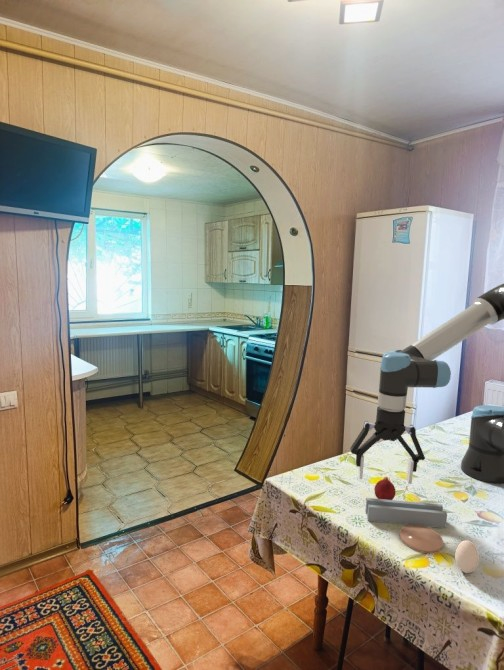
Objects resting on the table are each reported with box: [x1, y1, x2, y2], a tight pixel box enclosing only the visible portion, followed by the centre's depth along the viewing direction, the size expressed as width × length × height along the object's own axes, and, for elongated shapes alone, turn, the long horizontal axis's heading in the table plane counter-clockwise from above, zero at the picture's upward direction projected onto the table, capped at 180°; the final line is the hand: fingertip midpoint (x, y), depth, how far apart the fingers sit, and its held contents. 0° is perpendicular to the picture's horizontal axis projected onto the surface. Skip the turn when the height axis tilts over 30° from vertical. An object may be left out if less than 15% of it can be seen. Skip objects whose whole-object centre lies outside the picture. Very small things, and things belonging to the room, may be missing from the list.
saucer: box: [399, 524, 444, 554], centre depth 108 cm, size 10×10×1 cm
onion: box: [374, 476, 397, 500], centre depth 124 cm, size 6×6×8 cm
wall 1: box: [365, 497, 444, 515], centre depth 118 cm, size 20×1×4 cm, turn 83°
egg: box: [454, 539, 480, 574], centre depth 96 cm, size 5×5×7 cm
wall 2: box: [366, 505, 448, 529], centre depth 114 cm, size 20×1×4 cm, turn 83°
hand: (384, 479), depth 123 cm, fingers open, 13 cm apart
